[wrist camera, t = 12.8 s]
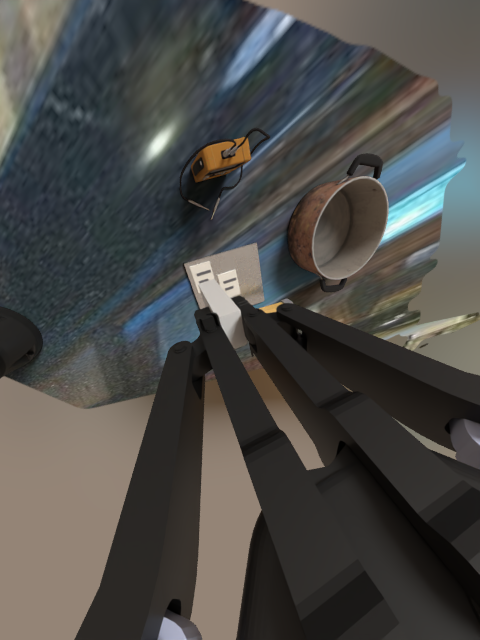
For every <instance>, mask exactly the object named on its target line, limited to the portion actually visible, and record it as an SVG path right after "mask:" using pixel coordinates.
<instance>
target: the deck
mask: <svg viewBox="0 0 480 640" xmlns="http://www.w3.org/2000/svg"><path fill="white" fill-rule="evenodd" d="M207 261H210V264H211V268H212V272H213V275H214V279H215V280H216V282H217V283H218V284H219V285H220V283H219V280H218V276H217V275H219V274H223V273H226V272H229V271H232V270H236V274H237V278H238V283H239V288H240V293H241V294H239V295H236V296H241V297H244V298H245V299H246V300H247V301H248V302H249V303H250V304H251V305H254V304H257V303H260V302H263V301H264V294H263V286H262V279H261V272H260V264H259V257H258V250H257V243H256V242H255V243H251V244H248V245H244V246H241V247H238V248H234V249H231V250H227V251H224V252H220V253H217V254H213V255H210V256H207V257H203V258H200V259H196V260H193V261H189V262H186V263H184V266H185V269H186V271H187V274H188V277H189V280H190V282H191V285H192V288H193V291H194V294H195V296H196V299H197V302H198V305H199V307H200V309H202V308H205V304H204V301H203V298H202V295H201V293H198V290H197V287H196V284H195V281H194V279H193V276H192V273H191V270H190V266H194V265H197V264H201V263H204V262H207ZM236 296H233V297H236ZM233 297H230V298H233Z"/></svg>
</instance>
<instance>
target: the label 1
mask: <svg viewBox="0 0 480 640" xmlns="http://www.w3.org/2000/svg"><path fill="white" fill-rule="evenodd" d="M190 270H191V273H192V276H193V279H194V281H195V284H196V287H197V290H198V293H201V292H200V289H199V286H198V284H199V283H203V282H206V281H209V280H212V279H214V275H213V272H212V268H211V264H210V261H207V262H204V263H201V264H197V265H194V266H190Z"/></svg>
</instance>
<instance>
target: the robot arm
mask: <svg viewBox="0 0 480 640" xmlns="http://www.w3.org/2000/svg"><path fill="white" fill-rule="evenodd" d="M198 286H199V289H200V292H201V295H202V298H203V301H204V304H205V308H202V309H199V310H196V311H195V314H194V316H195V318H196V323H197V326H198V328H199V331H200V336H199V337H198V338H197V339H196V340H195V341H194V342H192V343H190V342H189V341H181V342H178V343H176V344H174V345H173V346H172V347H171V348H170V349H169V351H168V354H167V358H166V361H165V365H164V368H163V371H162V375H161V378H160V382H159V385H158V389H157V392H156V395H155V399H154V402H153V406H152V409H151V413H150V416H149V419H148V423H147V426H146V430H145V433H144V437H143V440H142V444H141V447H140V450H139V454H138V457H137V461H136V464H135V467H134V471H133V474H132V478H131V481H130V485H129V488H128V491H127V495H126V499H125V502H124V505H123V509H122V512H121V515H120V519H119V522H118V526H117V529H116V533H115V536H114V540H113V543H112V546H111V550H110V553H109V557H108V560H107V563H106V567H105V570H104V574H103V577H102V581H101V584H100V587H99V589H98V591H97V593H96V596H95V598H94V600H93V602H92V604H91V606H90V608H89V610H88V612H87V615H86V617H85V619H84V621H83V623H82V625H81V627H80V629H79V631H78V633H77V635H76V638H75V640H202V637H201V634H200V632H199V630H198V628H197V627H196V625H195V624H194V623H192V622H191V621H190V617H191V613H192V606H193V598H194V591H195V584H196V576H197V561H198V546H199V520H200V495H201V494H200V493H201V468H202V445H203V419H204V393H205V374H206V373H207V372H209V371H210V370H211V369H213V371H214V373H215V376H216V379H217V382H218V385H219V388H220V391H221V393H222V396H223V399H224V402H225V405H226V408H227V411H228V413H229V416H230V419H231V422H232V424H233V428H234V430H235V433H236V436H237V439H238V442H239V445H240V448H241V450H242V454H243V457H244V460H245V463H246V466H247V469H248V472H249V474H250V477H251V480H252V483H253V486H254V489H255V492H256V495H257V498H258V500H259V503H260V506H261V509H262V511H261V513H260V515H259V517H258V519H257V521H256V524H255V527H254V530H253V534H252V538H251V542H250V548H249V554H248V561H247V568H246V575H245V582H244V589H243V596H242V603H241V610H240V617H239V624H238V631H237V638H236V640H480V376H479V375H474V374H471V373H467V372H464V371H461V370H459V369H456V368H453V367H451V366H448V365H446V364H443V363H441V362H439V361H436V360H434V359H431V358H429V357H426V356H423V355H421V354H418V353H416V352H413V351H411V350H408V349H406V348H403V347H401V346H398V345H396V344H393V343H391V342H388V341H386V340H383V339H381V338H378V337H376V336H373V335H371V334H368V333H366V332H363V331H361V330H358V329H356V328H353V327H351V326H348V325H346V324H343V323H341V322H338V321H336V320H333V319H331V318H328V317H326V316H323V315H321V314H318V313H316V312H313V311H311V310H308V309H306V308H303V307H300V306H298V305H295V304H292V303H283V304H281V305H279V306H277V308H276V312H272V313H265V312H264V311H263V310H261V309H257V308H256V309H255V308H254V307H253V306H252V305H251V304H250V303H249V302H248V301H247V300H246V299H245V298H244V297H241V296H236V297H233V298H230V297H229V296H228V295H227V294H226V292H225V291H224V290H223V289H222V288H221V286H220V285H219V284H218V283H217V282H216V280H215V279H212V280H209V281H206V282H203V283H199V284H198ZM298 329H299V330H301V331H302V334H301V333H299V332H298ZM246 338H247V340H248V341H249V345H250V350H251V355H252V357H253V356H254V355H253V353H254V354H255V356H256V357H257V359H258V360H259V362H260V363H261V365H262V366H263V368H264V369H265V371H266V372H267V374H268V375H269V377H270V378H271V380H272V381H273V383H274V384H275V386H276V387H277V389H278V390H279V392H280V393H281V394H282V396H283V398H284V399H285V401H286V402H287V403H288V405H289V406H290V408H291V410H292V411H293V413H294V414H295V415H296V417H297V418H298V420H299V421H300V423H301V424H302V426H303V427H304V429H305V430H306V432H307V433H308V435H309V436H310V438H311V439H312V441H313V443H314V444H315V446H316V448H317V451H318V454H319V456H320V458H321V460H322V462H323V464H324V466H325V467H322V468H317V469H312V470H306V468H305V466H304V465H303V463H302V461H301V459H300V458H299V456H298V454H297V452H296V451H295V449H294V447H293V446H292V444H291V442H290V440H289V439H288V437H287V436H286V434H285V433H284V432H283V431H282V430H280V429H279V428H278V426H277V425H276V423H275V421H274V419H273V418H272V416H271V414H270V412H269V410H268V409H267V407H266V405H265V403H264V402H263V400H262V398H261V396H260V394H259V392H258V391H257V389H256V387H255V385H254V384H253V382H252V380H251V378H250V376H249V375H248V373H247V371H246V369H245V367H244V366H243V364H242V362H241V360H240V358H239V357H238V355H237V353H236V351H235V350H234V349H236V348H239V347H241V346H244V345H246V344H247V340H246ZM42 342H43V341H42V336H41V333H40V331H39V330H38V328H37V327H36V326H35V325H34V324H33V323H32V322H31V321H30V320H28V319H27V318H26V317H24V316H22V315H21V314H19V313H17V312H15V311H12V310H10V309H7V308H4V307H0V378H1V377H3V376H5V375H7V374H9V373H11V372H13V371H15V370H17V369H18V368H20V367H22V366H24V365H26V364H27V363H29V362H30V361H31V360H32V359H33V358H34V357H35V356H36V355H37V354H38V353H39V351H40V350H41V347H42ZM343 385H344V386H346V387H347V388H349V389H350V390H352V391H353V392H350V391H348V390H347V389H346V388H345V387H344V386H343ZM391 416H392V417H393V418H395V419H396V420H398V421H399V422H401V423H402V424H404V425H405V426H407V427H409V428H410V429H412V430H414V431H415V432H417V433H419V434H420V435H422V436H424V437H426V438H428V439H430V440H432V441H434V442H436V443H437V444H439V445H442V446H444V447H446V448H448V449H451V450H453V451H455V452H457V453H456V456H455V457H456V459H457V460H455V459H452V458H450V457H447V456H445V455H442V454H440V453H437V452H435V451H432V450H430V449H428V448H426V447H425V446H424V445H423V444H422V443H420V441H418V440H417V439H416V438H415V437H414V436H413V435H412V434H410V433H409V432H408V431H407V430H406V429H405V428H404V427H402V426H401V425H400V424H399V423H398V422H397V421H396V420H395V419H393V418H392V417H391Z"/></svg>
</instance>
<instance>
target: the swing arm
mask: <svg viewBox="0 0 480 640" xmlns="http://www.w3.org/2000/svg"><path fill="white" fill-rule="evenodd" d="M283 303H292V304H293V302H292V301H290V300H289V299H284V300H281V302H280V303H276V304H273V305H269V306H266V307H262V308H259V309H261V310H263V311H264V312H265V313H272V312H276V308H277V306H279V305H281V304H283Z"/></svg>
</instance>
